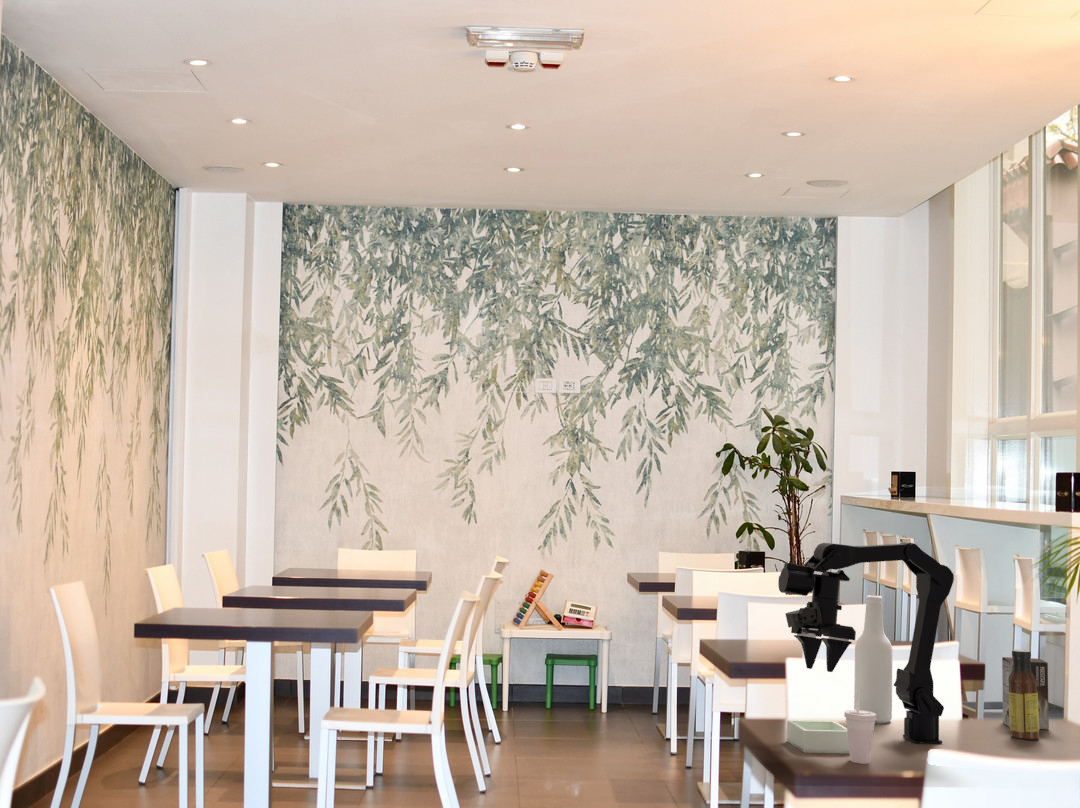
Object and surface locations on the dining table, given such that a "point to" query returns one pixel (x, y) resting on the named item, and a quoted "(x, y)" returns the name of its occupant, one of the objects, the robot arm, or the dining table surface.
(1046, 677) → the coffee box
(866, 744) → the smoothie
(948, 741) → the dining table surface
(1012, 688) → the sauce bottle
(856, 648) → the alcohol
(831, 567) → the robot arm
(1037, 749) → the dining table surface
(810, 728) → the bin
